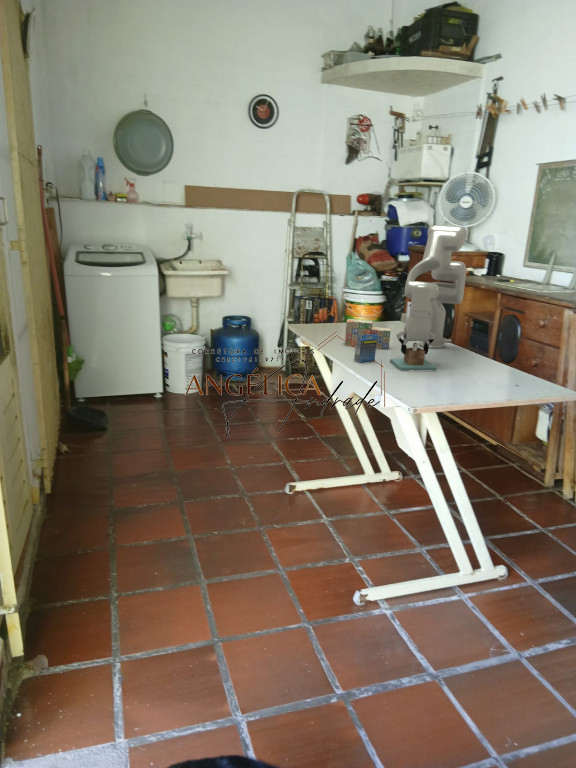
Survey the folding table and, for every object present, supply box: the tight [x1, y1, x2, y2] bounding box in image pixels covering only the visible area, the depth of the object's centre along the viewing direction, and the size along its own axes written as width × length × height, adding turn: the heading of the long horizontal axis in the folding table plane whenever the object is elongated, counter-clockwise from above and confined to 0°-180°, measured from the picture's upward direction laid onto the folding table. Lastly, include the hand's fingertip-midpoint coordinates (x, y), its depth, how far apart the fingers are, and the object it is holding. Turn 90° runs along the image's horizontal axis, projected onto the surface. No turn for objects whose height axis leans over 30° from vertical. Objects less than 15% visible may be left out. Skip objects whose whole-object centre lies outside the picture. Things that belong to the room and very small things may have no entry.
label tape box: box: [353, 334, 377, 363], centre depth 243 cm, size 9×4×12 cm, turn 119°
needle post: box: [411, 342, 419, 351], centre depth 238 cm, size 2×2×9 cm
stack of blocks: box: [344, 318, 392, 350], centre depth 270 cm, size 21×6×12 cm, turn 77°
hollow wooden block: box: [403, 347, 426, 365], centre depth 238 cm, size 7×7×6 cm
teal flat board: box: [389, 358, 438, 372], centre depth 239 cm, size 16×14×2 cm
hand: (414, 353), depth 238 cm, fingers open, 9 cm apart
